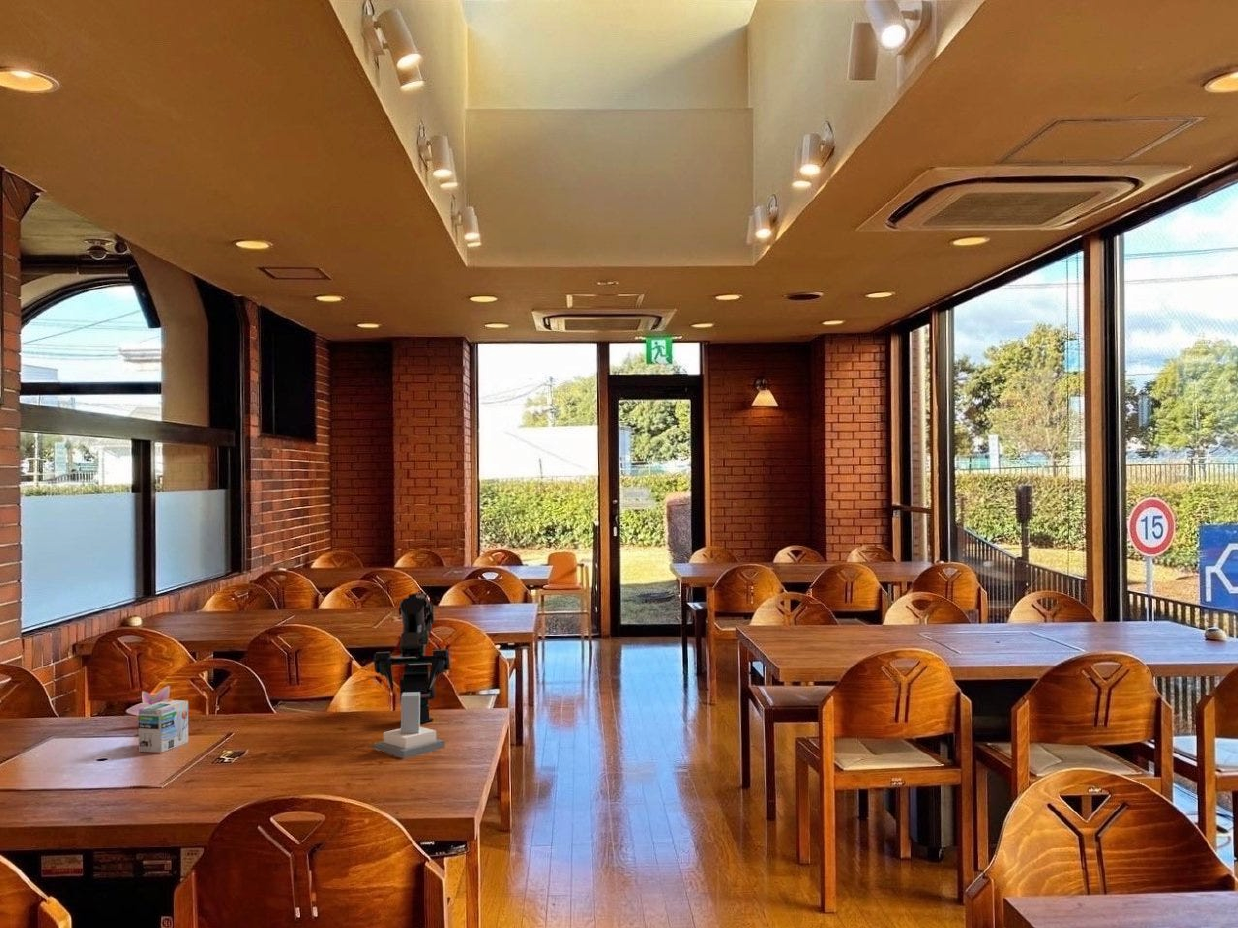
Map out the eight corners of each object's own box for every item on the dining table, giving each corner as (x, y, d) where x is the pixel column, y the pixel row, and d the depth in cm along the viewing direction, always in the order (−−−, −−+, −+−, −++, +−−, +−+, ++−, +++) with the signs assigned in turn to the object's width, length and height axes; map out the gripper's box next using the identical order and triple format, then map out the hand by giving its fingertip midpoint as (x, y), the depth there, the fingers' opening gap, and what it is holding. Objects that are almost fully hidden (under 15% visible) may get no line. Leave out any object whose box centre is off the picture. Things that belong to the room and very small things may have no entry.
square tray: (374, 753, 233) (374, 742, 233) (414, 742, 242) (414, 732, 242) (404, 762, 225) (403, 751, 225) (444, 750, 234) (444, 740, 234)
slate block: (400, 733, 231) (401, 696, 232) (402, 729, 235) (402, 692, 236) (418, 732, 232) (418, 695, 232) (419, 728, 236) (420, 692, 236)
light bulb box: (161, 753, 233) (161, 709, 233) (137, 752, 235) (137, 708, 235) (189, 742, 244) (189, 699, 244) (166, 741, 245) (166, 698, 245)
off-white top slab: (383, 742, 233) (383, 732, 233) (414, 734, 240) (413, 724, 240) (405, 748, 227) (405, 737, 227) (436, 740, 234) (436, 730, 234)
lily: (120, 732, 259) (121, 704, 255) (147, 706, 270) (149, 679, 266) (161, 745, 258) (162, 718, 254) (187, 719, 269) (188, 692, 265)
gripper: (374, 620, 243) (369, 672, 232) (448, 618, 246) (447, 669, 235) (377, 646, 251) (373, 698, 240) (450, 643, 253) (449, 694, 242)
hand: (410, 689), depth 239 cm, fingers open, 9 cm apart
